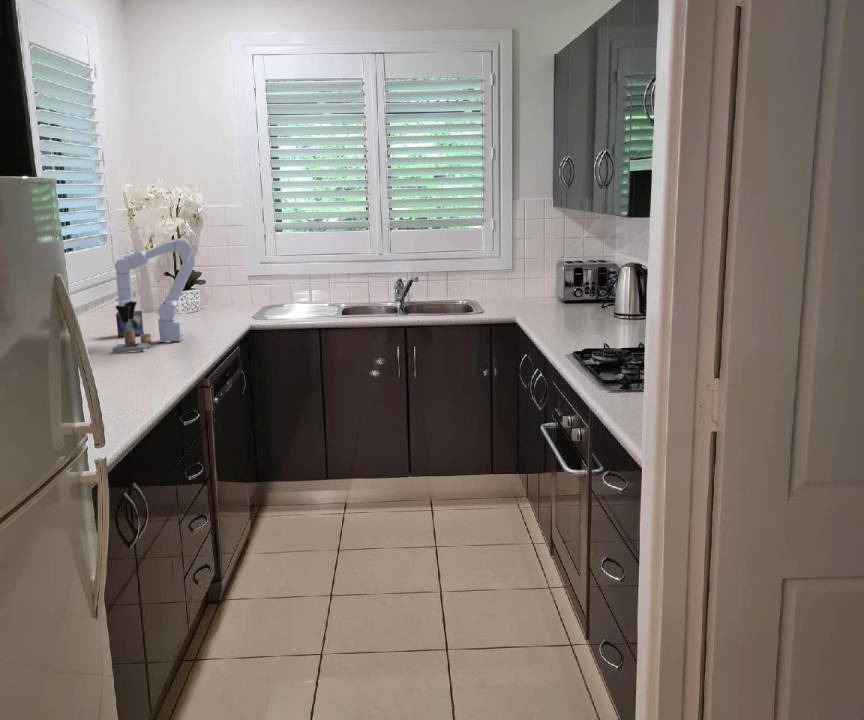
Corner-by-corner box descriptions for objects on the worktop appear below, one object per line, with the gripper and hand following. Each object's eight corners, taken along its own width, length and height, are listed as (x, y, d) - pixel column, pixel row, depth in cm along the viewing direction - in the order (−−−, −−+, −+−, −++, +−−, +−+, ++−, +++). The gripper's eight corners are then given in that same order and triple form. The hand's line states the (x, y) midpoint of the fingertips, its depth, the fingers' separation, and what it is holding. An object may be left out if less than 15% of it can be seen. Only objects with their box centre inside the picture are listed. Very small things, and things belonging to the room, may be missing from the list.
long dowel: (137, 349, 332) (135, 330, 330) (134, 351, 328) (132, 331, 326) (127, 349, 331) (125, 330, 330) (124, 351, 327) (122, 332, 326)
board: (149, 347, 334) (148, 343, 333) (144, 352, 326) (143, 347, 326) (119, 348, 333) (118, 344, 332) (113, 353, 325) (112, 348, 325)
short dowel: (152, 344, 341) (151, 333, 340) (150, 346, 337) (149, 335, 336) (142, 344, 341) (141, 334, 340) (140, 346, 337) (139, 336, 336)
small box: (117, 337, 357) (115, 314, 355) (119, 335, 363) (116, 311, 361) (143, 336, 360) (140, 312, 357) (144, 333, 366) (141, 310, 363)
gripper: (119, 286, 344) (123, 318, 347) (109, 291, 330) (113, 324, 333) (136, 285, 344) (140, 317, 347) (127, 290, 330) (130, 323, 333)
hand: (128, 320), depth 340 cm, fingers open, 7 cm apart
